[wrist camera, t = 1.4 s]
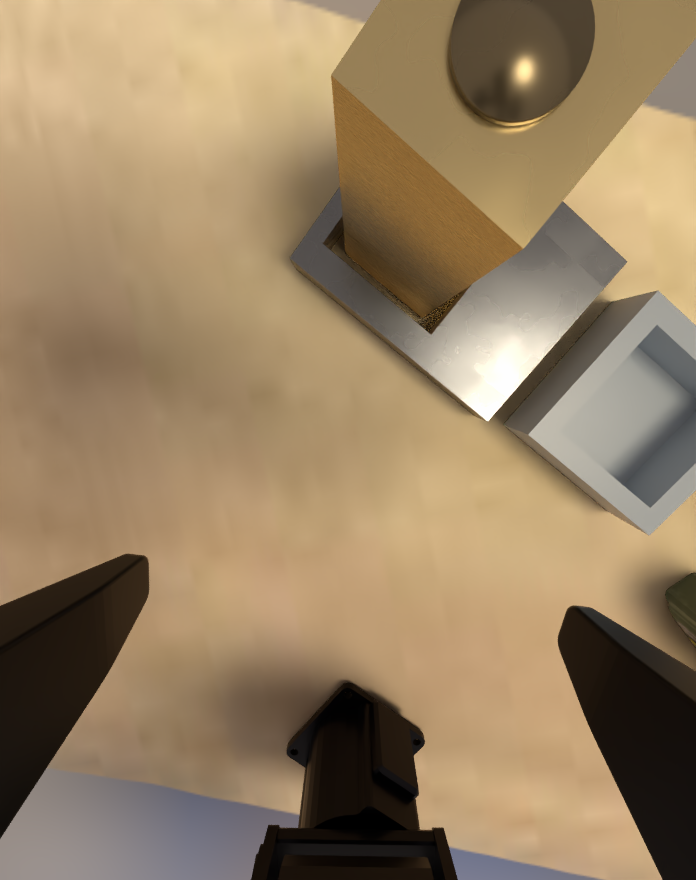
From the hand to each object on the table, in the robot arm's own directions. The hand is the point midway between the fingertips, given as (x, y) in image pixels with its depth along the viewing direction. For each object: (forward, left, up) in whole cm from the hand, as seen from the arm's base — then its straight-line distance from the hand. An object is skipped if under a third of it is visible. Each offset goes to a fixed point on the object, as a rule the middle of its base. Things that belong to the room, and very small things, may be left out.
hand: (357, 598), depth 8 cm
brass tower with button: (+10, +4, -13) cm, 17 cm away
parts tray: (+10, -9, -13) cm, 19 cm away
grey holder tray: (+10, +2, -13) cm, 17 cm away
